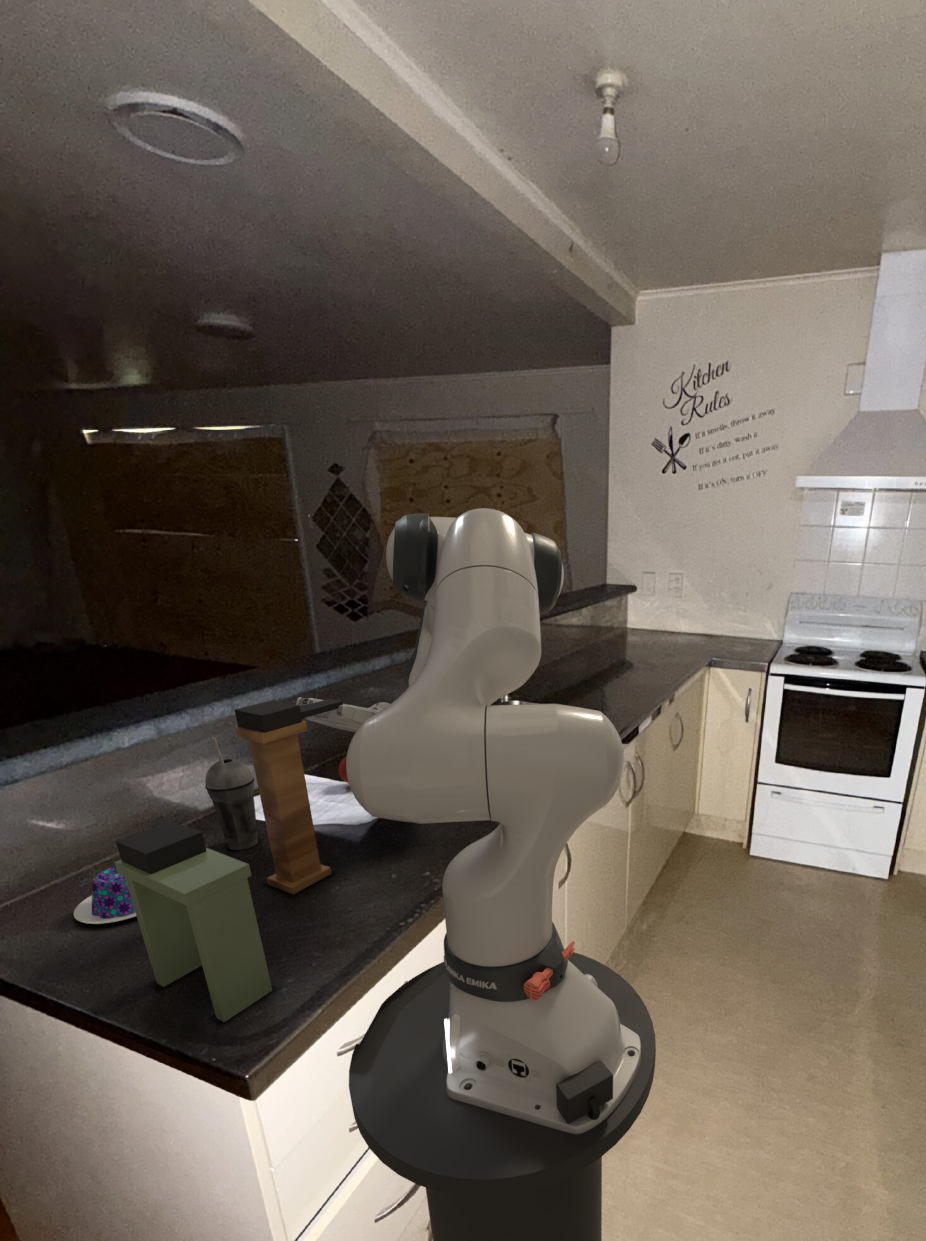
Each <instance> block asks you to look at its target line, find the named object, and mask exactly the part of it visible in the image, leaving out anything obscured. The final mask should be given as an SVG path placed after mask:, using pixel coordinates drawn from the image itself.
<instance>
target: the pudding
mask: <svg viewBox="0 0 926 1241" xmlns="http://www.w3.org/2000/svg"><path fill="white" fill-rule="evenodd" d="M73 917H74V919H75V920H76V921H78V922H79V923H83V924H89V925H90V924H92V925H101V924H110V923H115V922H119V921H125V920H128V919H131V918H135V917H137V916H136V913H135V910H134V906H133V903H132V900H131V896H130V893H129V890H128V887H127V883H126V880H125V877H124V876H122V875H120V874H118V872H117V869H116V866H113V867H109V868H106V869H105V870H104V871H101V872H99V873H97V874H96V875H95V877H94V879H93V880H92V884H91V895H90V896H88V897H86V898H85V899H84V900H82V901H81V902H80V903H79V904H77V906H76V907H75V909H74V910H73Z"/></svg>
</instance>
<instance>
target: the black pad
mask: <svg viewBox="0 0 926 1241" xmlns="http://www.w3.org/2000/svg"><path fill="white" fill-rule="evenodd" d="M322 700H323V701H319V702H315V703H311V704H308V705H304V706H300V705H296V703H289V702H285V701H279V700H275V699H273V700H268V701H264V702H260V703H256V704H252V705H248V706H243V707H238V708H235V709H234V714H235V720H236V724H237V727H242V728H246V729H251V730H255V731H259V732H263V733H266V732H269V731H273V730H276V729H280V728H283V727H287V726H290V725H294V724H297V723H301V722H303V721H304V720H303V719H305V718H306V717H310V716H314V715H317V714H321V713H324V712H328V711H331V710H335V709H338V707H339V706H340V705H343V704H344V701H343V700H340V699H335V698H326V699H322Z"/></svg>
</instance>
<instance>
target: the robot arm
mask: <svg viewBox="0 0 926 1241" xmlns="http://www.w3.org/2000/svg"><path fill="white" fill-rule="evenodd" d="M562 556H563V555H562V552H561V550H560V549H559V547H558V545H557V544H556V542H555V541H554V540H553V539H551V538H549V537H547V536H545V535H542V534H539V533H536V532H533V531H532V532H530V533H527V532H525V531H524V529H523V528H522V526H521V525H520V524H519V522H517V521H516V520H515V519H514V518H513V517H512V516H510V515H509V514H507V513H505V512H503V511H500V510H498V509H494V508H487V507H483V508H482V507H480V508H473V509H470V510H467V511H465V512H463V513H462V514H459V516H457V517H451V516H430V514H429V513H421V512H420V513H410V514H404V515H403V516H402V517H400V518H399V519H398V520H397V521H395V523H394V527H393V529H392V530H391V532H390V534H389V536H388V539H387V542H386V548H385V564H386V568H387V573H388V575H389V577H390V579H391V582H392V586H393V588H394V589H395V590H396V591H397V592H398V594H399V595H400V596H402V597H404V598H407V599H410V600H412V601H415V602H418V603H419V602H420V603H424V602H425V604H424V605H423V608H422V611H421V615H420V620H419V624H418V630H417V635H416V639H415V645H414V649H413V652H412V653H411V656H410V658H409V660H408V661H407V662H406V665H405V666H404V669H403V671H402V672H403V673H402V681H403V683H404V685H405V686H406V689H405V691H403V693H401V695H399V696H398V697H397V698H396V699H395V700H394V701H392V702H391V703H388V702H385V701H383V702H377V703H374V704H373V705H371V706H369V707H362V706H359V705H353V704H346V703H343V705H340V706H339V707H338V709H335V710H331V711H328V712H324V713H321V714H317V715H314V716H310V717H306V718H304V719H305V720H308V721H311V722H314V723H318V724H321V725H323V726H327V727H330V728H334V729H338V730H342V731H346V732H351V733H354V734H353V736H352V738H351V741H350V743H349V745H348V749H347V752H346V756H347V758H346V772H347V779H348V783H347V784H348V785H349V788H350V790H351V793H352V795H353V796H354V798H355V800H356V801H357V803H358V804H359V805H360V806H361V807H362V808H363V810H365V812H366V813H368V814H369V815H370V816H371V817H373V818H379V819H385V820H391V821H396V822H405V823H412V824H413V823H414V824H419V825H422V824H443V823H459V822H460V823H462V822H481V821H491V822H496V823H499V824H498V826H497V827H496V828H494V830H492V831H491V832H490V833H488V834H487V835H484V836H483V837H482V838H480V839H477V840H476V841H474V842H472V843H470V844H468V845H467V846H466V847H464V848H463V849H462V850H461V851H459V853H457V854H456V855H455V856H454V857H453V859H451V861H450V862H449V863H448V865H447V867H446V868H445V871H444V874H443V877H442V881H441V892H442V901H443V910H444V920H445V921H444V922H445V930H446V932H445V934H444V938H443V962H445V969H446V974H447V976H448V978H449V980H450V1001H449V1016H448V1023H447V1019H444V1022H445V1035H444V1039H443V1056H444V1059H445V1062H446V1065H447V1067H448V1073H447V1080H446V1093H447V1095H448V1096H449V1097H450V1098H452V1099H454V1100H458V1101H461V1102H465V1103H468V1104H472V1105H475V1106H478V1107H482V1108H485V1109H489V1110H492V1111H496V1112H499V1113H502V1114H506V1115H509V1116H513V1117H516V1118H520V1119H523V1120H526V1121H530V1122H533V1123H537V1124H540V1125H544V1126H547V1127H550V1128H554V1129H557V1130H561V1131H564V1132H568V1133H572V1134H582V1133H584V1132H586V1131H588V1130H590V1129H592V1128H594V1127H595V1126H597V1125H598V1124H600V1123H601V1122H602V1121H603V1120H604V1119H606V1118H607V1117H608V1116H609V1115H610V1114H611V1113H612V1112H613V1111H614V1110H615V1108H616V1107H617V1106H618V1105H619V1103H620V1102H621V1101H622V1099H623V1098H624V1096H625V1095H626V1093H627V1092H628V1090H629V1088H630V1086H631V1085H632V1083H633V1081H634V1079H635V1077H636V1074H637V1072H638V1069H639V1066H640V1062H641V1042H640V1038H639V1036H638V1035H637V1034H636V1033H635V1032H633V1031H632V1030H630V1029H628V1028H627V1027H625V1026H623V1025H622V1024H620V1021H619V1016H618V1012H617V1009H616V1007H615V1005H614V1003H613V1002H612V1000H611V999H610V998H609V997H607V996H606V995H605V994H604V993H603V992H602V991H601V990H600V989H599V988H598V985H597V982H596V980H595V978H594V977H593V976H591V975H589V974H585V975H584V974H583V973H582V972H581V971H580V970H579V969H578V968H577V967H575V966H574V965H573V964H572V963H571V962H570V961H569V960H568V958H569V957H570V956H571V955H572V953H573V952H575V950H576V949H575V947H574V946H575V941H573V940H572V941H571V942H570V943H569V944H568V945H567V946H566V947H564V945H563V942H562V939H561V937H560V934H559V932H558V930H557V928H556V926H555V923H554V922H553V895H554V880H555V872H556V868H557V864H558V861H559V859H560V857H561V854H562V852H563V850H564V848H565V847H566V845H567V844H568V842H569V840H570V839H571V837H572V836H573V835H574V833H575V832H576V831H577V830H578V829H579V828H580V827H581V826H582V825H583V824H584V822H586V821H587V820H588V819H589V818H590V817H591V816H593V815H594V814H595V813H597V812H599V811H600V810H601V809H602V808H604V807H605V806H607V804H608V803H609V802H610V801H611V800H612V799H613V797H614V796H615V794H616V792H617V791H618V789H619V787H620V785H621V782H622V780H623V776H624V771H625V752H624V746H623V742H622V739H621V736H620V734H619V732H618V731H617V729H616V727H615V725H614V724H613V723H612V721H611V720H610V719H609V718H608V717H607V716H606V715H605V714H604V713H603V712H602V711H600V710H595V709H591V708H584V707H580V706H573V705H566V704H562V703H561V704H560V703H535V704H534V703H531V704H529V703H528V704H494V703H495V702H496V701H498V700H499V699H501V698H503V697H505V696H507V695H508V694H510V693H512V692H514V691H516V690H518V689H519V688H521V687H522V686H524V684H525V683H527V681H529V679H530V678H531V677H532V676H533V674H534V673H535V671H536V670H537V668H538V667H539V665H540V660H541V658H542V635H541V619H540V616H543V615H546V614H548V613H549V612H550V611H551V610H552V609H553V608H554V607H555V606H556V604H557V601H558V598H559V596H560V594H561V592H562V589H563V586H564V581H565V580H564V579H565V575H564V574H565V573H564V572H565V571H564V565H563V558H562ZM323 700H324V699H318V698H313V697H308V698H306V697H303V696H302V697H301V696H298V697H297V699H296V702H295V705H300V706H304V705H308V704H311V703H315V702H319V701H323ZM492 704H493V705H492ZM630 1055H632V1056H630ZM468 1088H471V1089H470V1090H466V1089H468Z"/></svg>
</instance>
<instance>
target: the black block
mask: <svg viewBox="0 0 926 1241" xmlns="http://www.w3.org/2000/svg"><path fill="white" fill-rule="evenodd" d="M115 844H116V847H117V850H118V854H119V857H120V860H122V861H123V862H125V863H127V864H130V865H132V866H134V867H136V868H138V869H141V870H143V871H145V872H147V873H150V874H153V873H156V872H158V871H161V870H163V869H165V868H168V867H170V866H172V865H175V864H177V863H180V862H182V861H184V860H187V859H189V858H192V857H194V856H196V855H199V854H201V853H203V852H206V851H207V850H206V848H207V847H206V843H205V839H204V834H203V831H200V830H198V829H195V828H192V827H190V826H187V825H184V824H181V823H179V822H176V821H174V820H170V821H167V822H165V823H162V824H160V825H157V826H154V827H152V828H149V829H146V830H143V831H140V832H137V833H134V834H132V835H129V836H127V837H124V838H120V839H119V840H116V841H115Z"/></svg>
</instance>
